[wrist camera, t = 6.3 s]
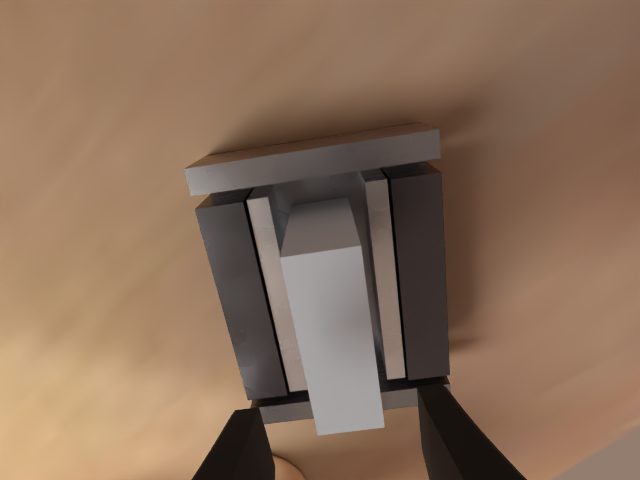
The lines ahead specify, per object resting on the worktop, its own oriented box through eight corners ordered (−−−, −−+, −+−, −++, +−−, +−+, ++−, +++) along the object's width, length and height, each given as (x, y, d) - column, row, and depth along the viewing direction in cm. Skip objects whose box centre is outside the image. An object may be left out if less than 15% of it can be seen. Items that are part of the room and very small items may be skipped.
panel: (347, 196, 16) (361, 245, 11) (366, 336, 19) (384, 427, 14) (291, 205, 17) (279, 257, 11) (317, 342, 19) (317, 435, 14)
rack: (418, 122, 16) (442, 129, 13) (432, 358, 20) (452, 406, 17) (206, 155, 17) (180, 170, 14) (263, 380, 21) (254, 430, 18)
